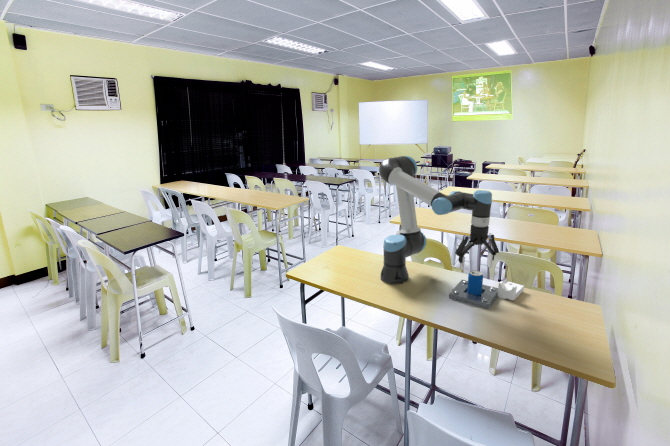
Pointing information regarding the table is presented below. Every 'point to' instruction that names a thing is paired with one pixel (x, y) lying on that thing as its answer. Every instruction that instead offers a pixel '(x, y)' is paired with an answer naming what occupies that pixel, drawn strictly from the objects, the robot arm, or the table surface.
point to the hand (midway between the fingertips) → (475, 267)
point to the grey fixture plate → (483, 301)
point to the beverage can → (475, 283)
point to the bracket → (509, 290)
